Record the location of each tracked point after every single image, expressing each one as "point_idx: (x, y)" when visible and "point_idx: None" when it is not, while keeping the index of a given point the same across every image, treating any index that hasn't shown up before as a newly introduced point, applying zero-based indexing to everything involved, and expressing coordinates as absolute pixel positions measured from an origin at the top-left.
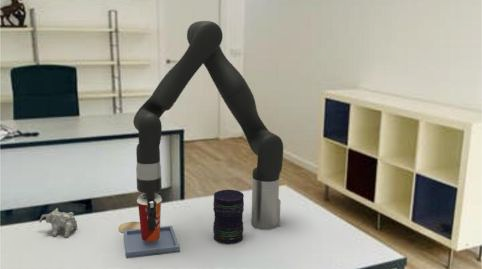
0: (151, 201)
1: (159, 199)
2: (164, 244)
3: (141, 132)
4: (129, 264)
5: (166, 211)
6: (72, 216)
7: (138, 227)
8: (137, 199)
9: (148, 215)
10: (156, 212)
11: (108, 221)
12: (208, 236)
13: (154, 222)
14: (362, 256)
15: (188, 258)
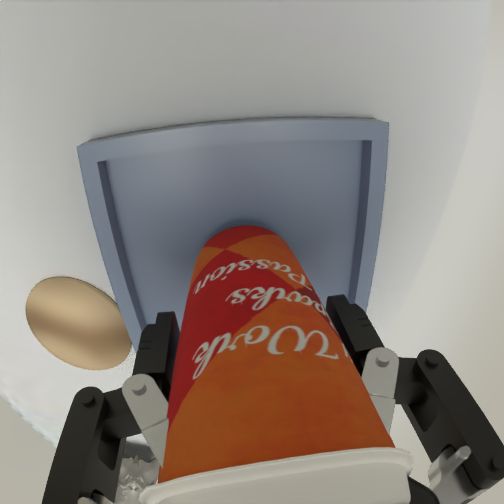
0: (483, 491)
1: (381, 481)
2: (293, 190)
3: None
4: (395, 317)
5: None
6: (130, 485)
7: (75, 308)
8: None
9: (436, 413)
10: (360, 378)
11: (41, 382)
12: None
13: (361, 333)
14: None
15: (437, 96)
